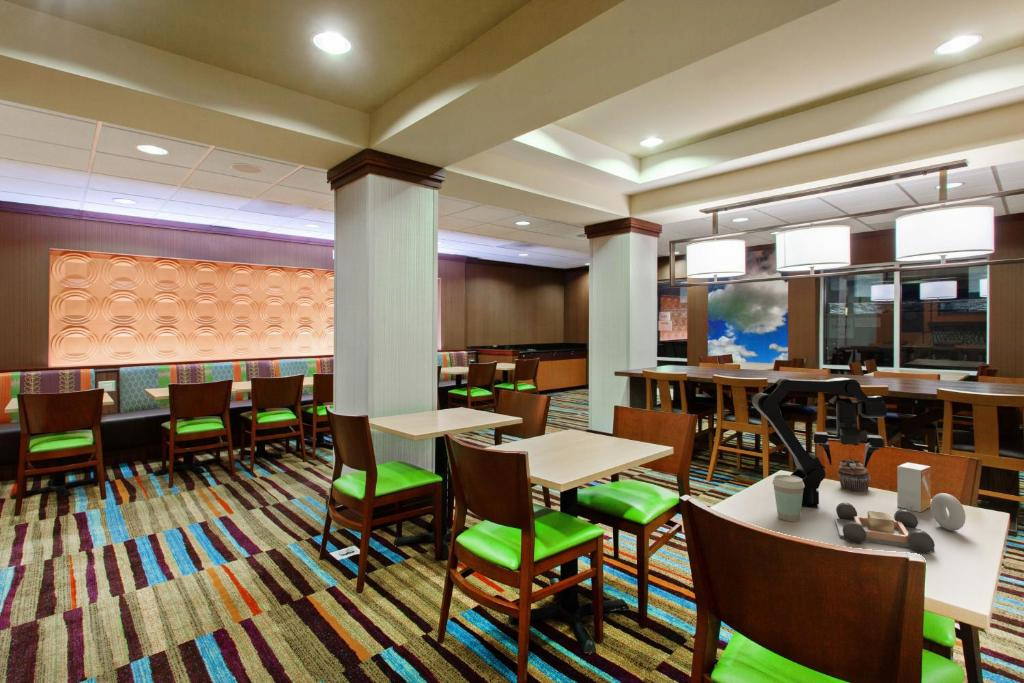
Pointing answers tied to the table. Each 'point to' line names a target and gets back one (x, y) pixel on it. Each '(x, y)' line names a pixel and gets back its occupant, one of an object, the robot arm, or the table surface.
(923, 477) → the small box
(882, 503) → the table surface
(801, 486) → the coffee cup
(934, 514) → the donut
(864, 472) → the cupcake
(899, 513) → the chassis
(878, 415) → the robot arm
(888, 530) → the tan wooden block
